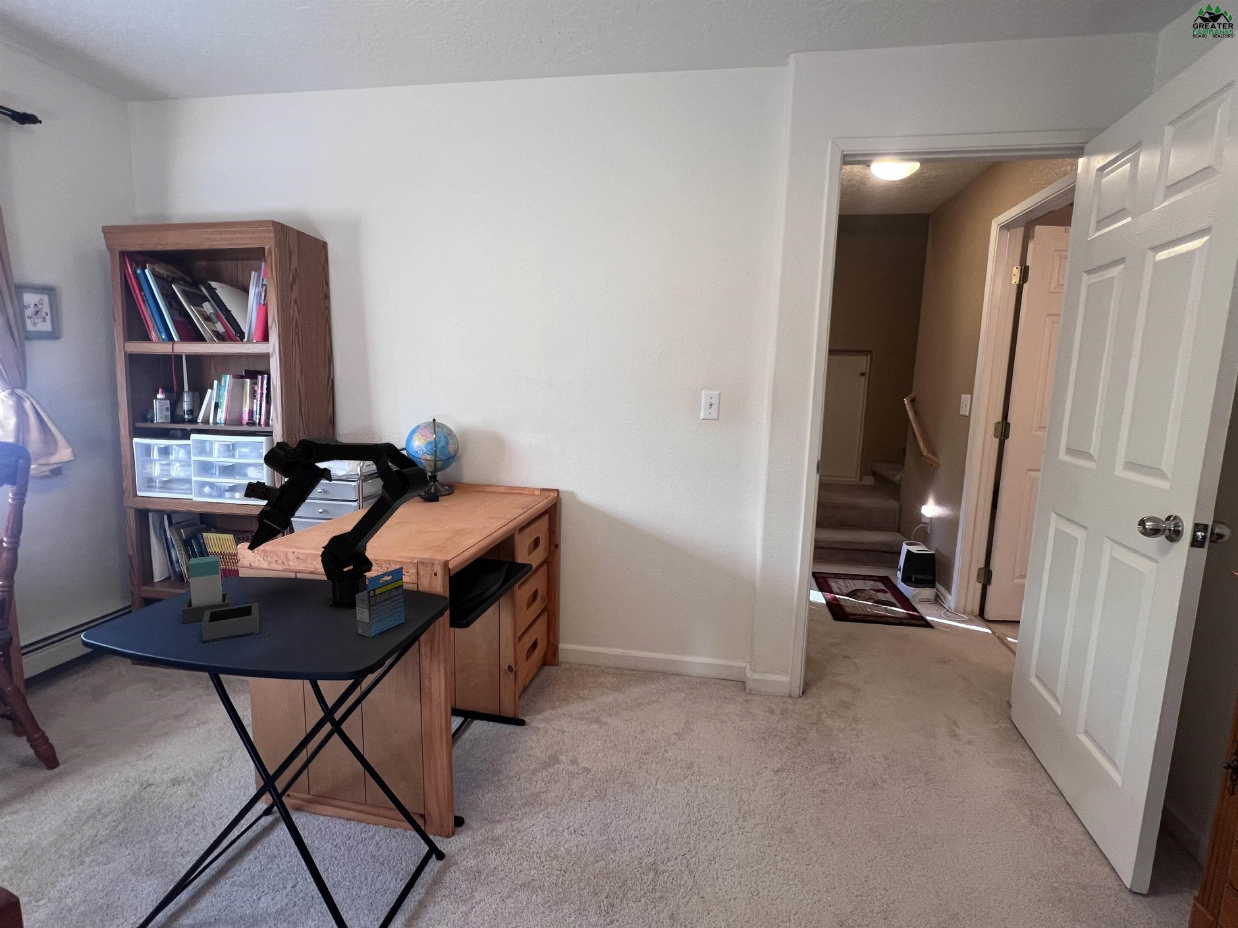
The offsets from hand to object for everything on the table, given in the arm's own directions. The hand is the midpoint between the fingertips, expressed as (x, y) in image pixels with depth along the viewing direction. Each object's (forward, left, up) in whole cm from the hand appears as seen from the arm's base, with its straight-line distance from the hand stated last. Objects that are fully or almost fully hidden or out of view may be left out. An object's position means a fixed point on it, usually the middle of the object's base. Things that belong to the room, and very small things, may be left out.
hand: (251, 546), depth 126 cm
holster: (+6, +6, -14) cm, 16 cm away
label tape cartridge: (-33, +5, -14) cm, 36 cm away
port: (-5, +12, -14) cm, 19 cm away
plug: (+6, +6, -14) cm, 16 cm away
